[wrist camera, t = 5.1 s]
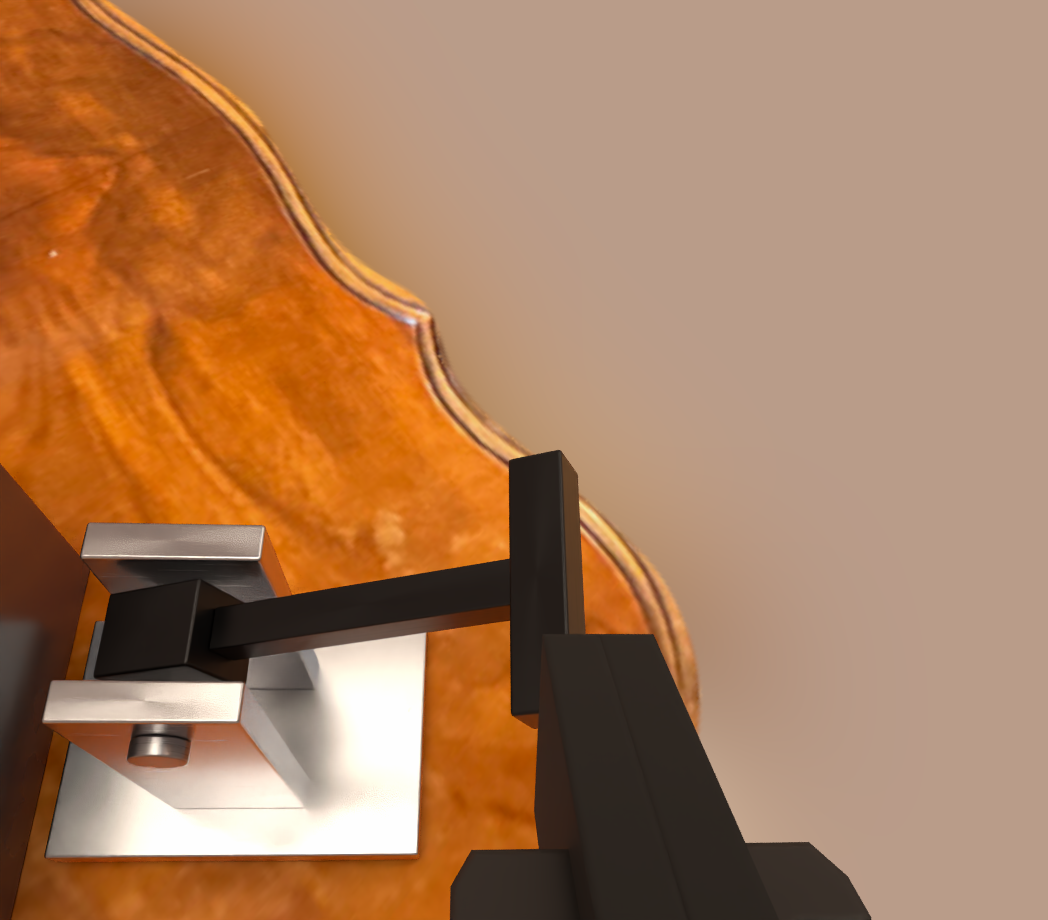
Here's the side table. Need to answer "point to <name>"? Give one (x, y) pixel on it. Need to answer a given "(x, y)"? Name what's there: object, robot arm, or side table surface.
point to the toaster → (29, 661)
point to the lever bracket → (237, 730)
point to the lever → (373, 603)
